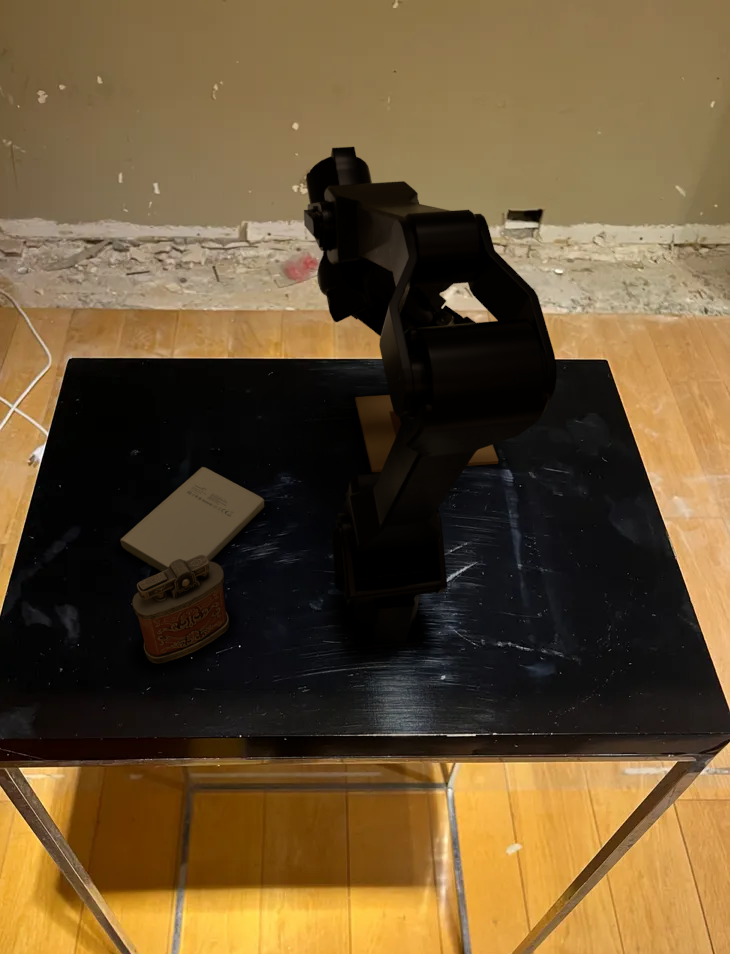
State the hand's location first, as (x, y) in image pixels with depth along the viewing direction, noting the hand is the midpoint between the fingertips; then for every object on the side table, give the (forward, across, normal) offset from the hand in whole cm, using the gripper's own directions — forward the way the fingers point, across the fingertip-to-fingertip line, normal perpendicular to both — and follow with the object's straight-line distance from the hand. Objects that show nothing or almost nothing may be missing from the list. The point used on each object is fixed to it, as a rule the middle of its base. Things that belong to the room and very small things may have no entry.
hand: (447, 349), depth 86 cm
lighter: (-18, -8, +34) cm, 40 cm away
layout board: (+7, 0, +9) cm, 11 cm away
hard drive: (-13, +3, +29) cm, 32 cm away
